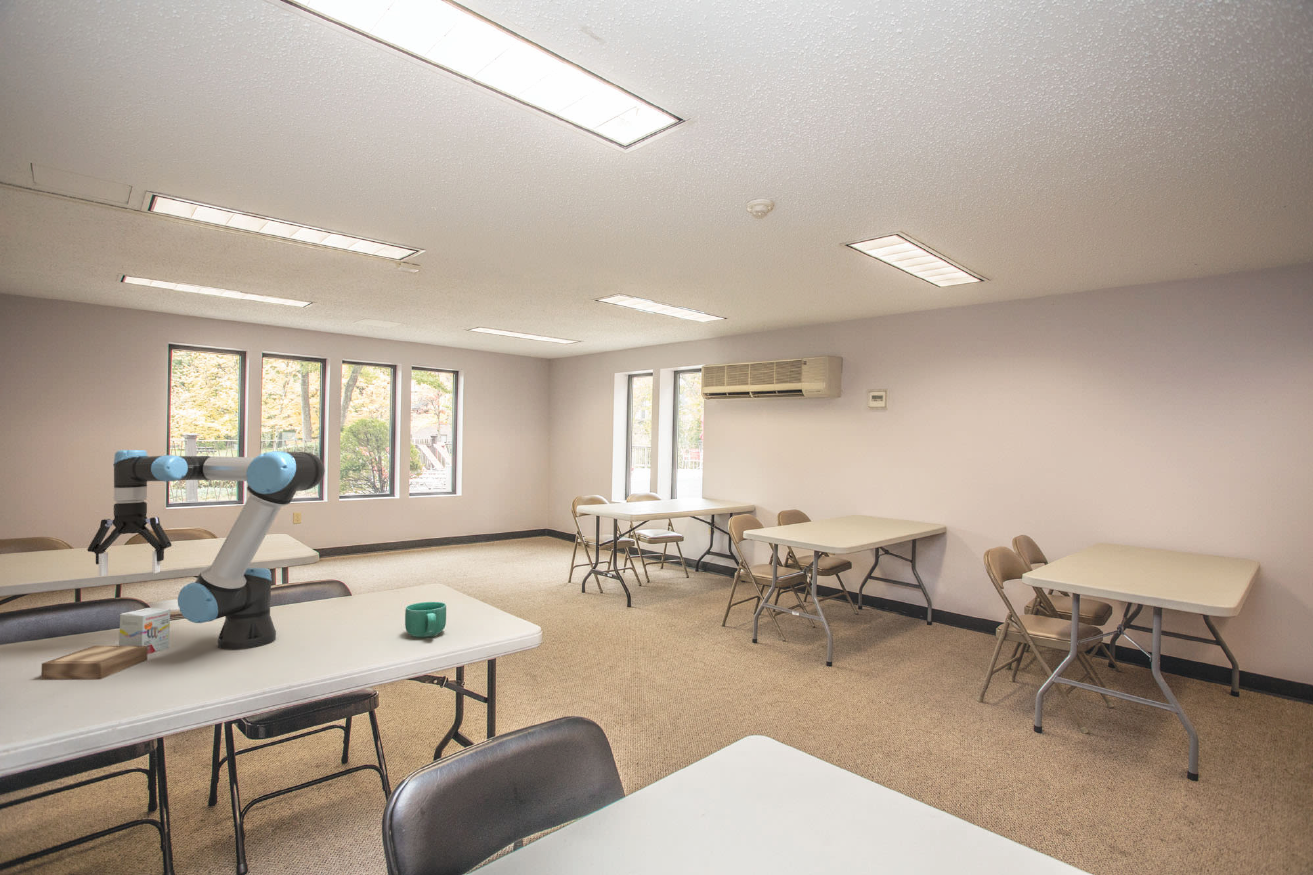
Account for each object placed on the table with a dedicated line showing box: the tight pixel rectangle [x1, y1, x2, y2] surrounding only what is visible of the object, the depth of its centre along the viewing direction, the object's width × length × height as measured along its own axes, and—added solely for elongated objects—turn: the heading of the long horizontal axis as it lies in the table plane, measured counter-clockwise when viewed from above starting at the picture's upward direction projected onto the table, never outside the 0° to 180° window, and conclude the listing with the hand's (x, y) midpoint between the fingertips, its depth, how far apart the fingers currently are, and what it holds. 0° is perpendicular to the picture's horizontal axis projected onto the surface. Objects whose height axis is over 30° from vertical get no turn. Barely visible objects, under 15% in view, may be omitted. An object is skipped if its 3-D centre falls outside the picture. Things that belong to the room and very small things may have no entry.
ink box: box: [118, 607, 171, 655], centre depth 182 cm, size 9×9×12 cm
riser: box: [40, 645, 148, 680], centre depth 166 cm, size 15×15×4 cm
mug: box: [404, 601, 447, 639], centre depth 198 cm, size 17×13×10 cm
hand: (130, 574), depth 181 cm, fingers open, 13 cm apart
